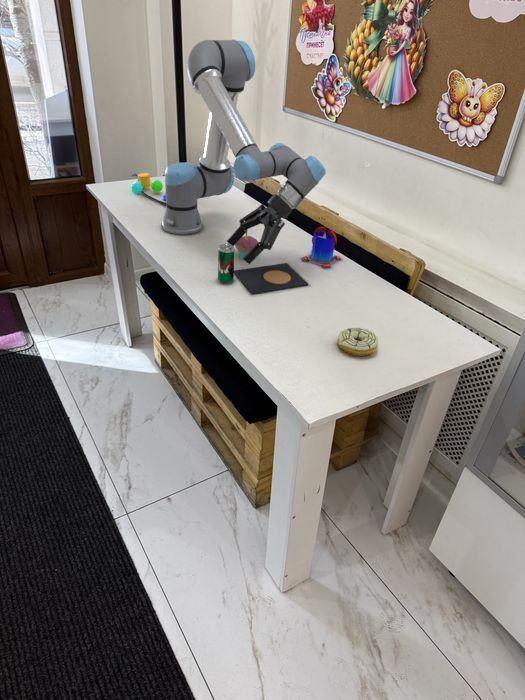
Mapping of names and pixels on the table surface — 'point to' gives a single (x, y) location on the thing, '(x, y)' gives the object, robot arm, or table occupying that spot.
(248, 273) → the mat
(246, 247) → the cupcake
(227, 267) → the soda can
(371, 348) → the decorated donut
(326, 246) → the fantasy tower
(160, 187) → the shape set
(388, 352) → the table surface
